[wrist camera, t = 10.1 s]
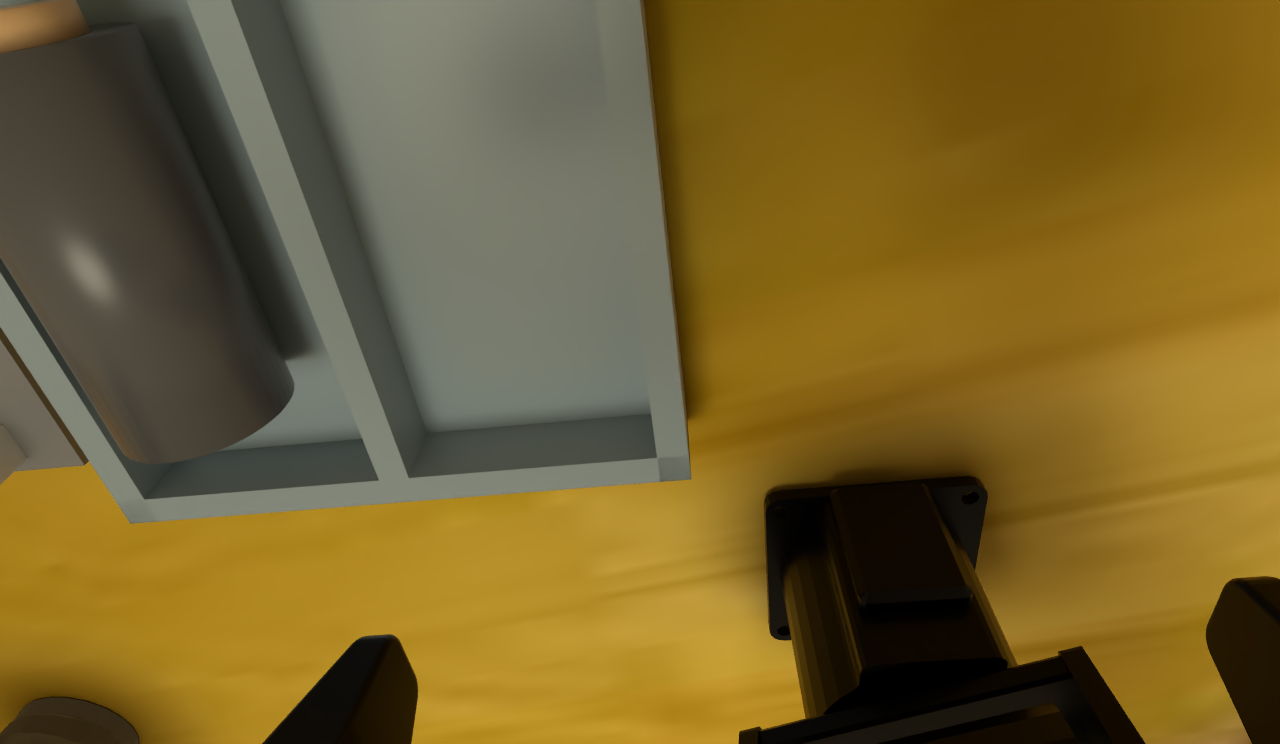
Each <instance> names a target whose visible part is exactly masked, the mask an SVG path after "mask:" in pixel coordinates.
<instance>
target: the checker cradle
mask: <svg viewBox="0 0 1280 744" xmlns="http://www.w3.org/2000/svg"><path fill="white" fill-rule="evenodd" d="M88 461H89V460H88V459H87V457H86V455H85V454H84V452H83V451H82V449H81V448H80V446H79V445H78V443H77V442H76V440H75V439H74V437H73V436H72V434H71V433H70V431H69V430H68V428H67V427H66V425H65V424H64V422H63V421H62V419H61V418H60V416H59V415H58V413H57V412H56V410H55V409H54V407H53V406H52V404H51V403H50V401H49V400H48V398H47V397H46V395H45V394H44V392H43V391H42V389H41V388H40V386H39V385H38V383H37V382H36V380H35V379H34V377H33V376H32V374H31V372H30V371H29V369H28V368H27V366H26V365H25V363H24V362H23V360H22V359H21V357H20V356H19V354H18V353H17V351H16V350H15V348H14V347H13V345H12V344H11V342H10V341H9V339H8V338H7V336H6V335H5V333H4V332H3V330H2V329H1V327H0V484H1V483H3V482H4V481H5V480H6V479H7V478H8V477H9V476H10V475H11V474H12V473H13V472H14V471H24V470H36V469H47V468H59V467H71V466H82V465H85V464H86V463H87V462H88Z"/></svg>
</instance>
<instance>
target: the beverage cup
mask: <svg viewBox="0 0 1280 744" xmlns="http://www.w3.org/2000/svg"><path fill="white" fill-rule="evenodd" d="M0 744H139V738H138V735H137V733H136V732H135V730H134V729H133V727H132V726H131V725H130V724H129V723H128V722H126V721H125V720H124V719H123V718H122V717H120V716H119V715H117V714H115V713H113V712H111V711H110V710H108V709H106V708H104V707H101V706H98V705H95V704H92V703H90V702H87V701H82V700H77V699H71V698H59V697H48V698H43V699H39V700H34V701H32V702H31V703H29V704H28V705H26V706H24V708H23V709H22V710H21V712H20V713H19V714H18V716H17V717H16V718H15V720H14V721H13V722H11V723H10V724H9V725H8V726H7V727H6V728H5V729H4V730H3V731H2V732H1V733H0Z"/></svg>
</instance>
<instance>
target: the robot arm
mask: <svg viewBox="0 0 1280 744" xmlns="http://www.w3.org/2000/svg"><path fill="white" fill-rule="evenodd" d="M967 492H971V493H970V494H968V495H964V494H965V493H967ZM987 498H988V495H987V491H986V489H985V487H984V485H983V483H982V482H981V481H980V479H978V478H976V477H971V476H964V477H951V478H938V479H925V480H912V481H899V482H886V483H873V484H860V485H847V486H834V487H821V488H808V489H795V490H782V491H776V492H773V493H771V494H770V495H768V496H767V497H766V499H765V501H764V523H765V548H766V574H767V599H768V623H769V629H770V633H771V636H773V637H774V638H775V639H778V640H792V644H793V650H794V656H795V661H796V667H797V672H798V678H799V684H800V689H801V695H802V700H803V706H804V711H805V717H806V719H803V720H799V721H794V722H790V723H786V724H782V725H778V726H774V727H770V728H766V729H761V728H760V727H755V728H751V729H747V730H743V731H740V732H739V744H1145V742H1144V741H1143V739H1142V738H1141V736H1140V735H1139V733H1138V731H1137V730H1136V728H1135V727H1134V725H1133V724H1132V722H1131V721H1130V719H1129V718H1128V716H1127V715H1126V713H1125V712H1124V710H1123V709H1122V707H1121V706H1120V704H1119V702H1118V701H1117V699H1116V698H1115V696H1114V695H1113V693H1112V692H1111V690H1110V689H1109V687H1108V686H1107V684H1106V683H1105V681H1104V680H1103V678H1102V677H1101V675H1100V673H1099V672H1098V670H1097V669H1096V667H1095V666H1094V664H1093V663H1092V661H1091V660H1090V658H1089V657H1088V655H1087V654H1086V652H1085V651H1084V649H1083V648H1082V646H1078V647H1074V648H1070V649H1066V650H1062V651H1058V655H1059V656H1055V657H1051V658H1047V659H1043V660H1039V661H1035V662H1031V663H1027V664H1023V665H1019V666H1018V664H1017V662H1016V660H1015V658H1014V656H1013V653H1012V651H1011V649H1010V647H1009V645H1008V642H1007V640H1006V638H1005V636H1004V634H1003V632H1002V629H1001V627H1000V625H999V623H998V621H997V618H996V616H995V614H994V612H993V610H992V608H991V605H990V603H989V601H988V599H987V597H986V594H985V592H984V590H983V588H982V586H981V584H980V581H979V579H978V577H977V575H976V573H975V566H976V561H977V555H978V549H979V543H980V538H981V532H982V526H983V521H984V515H985V509H986V504H987ZM779 506H787V507H785V508H783V509H776V508H777V507H779ZM1206 641H1207V645H1208V649H1209V652H1210V654H1211V656H1212V658H1213V661H1214V663H1215V665H1216V667H1217V669H1218V671H1219V673H1220V676H1221V678H1222V680H1223V682H1224V684H1225V686H1226V689H1227V691H1228V693H1229V695H1230V697H1231V699H1232V701H1233V704H1234V706H1235V708H1236V710H1237V712H1238V714H1239V716H1240V719H1241V721H1242V723H1243V725H1244V727H1245V729H1246V732H1247V734H1248V736H1249V738H1250V740H1251V742H1252V744H1280V579H1278V578H1275V577H1268V576H1262V577H1247V578H1235V579H1232V580H1230V581H1229V582H1227V583H1226V585H1225V586H1224V588H1223V590H1222V592H1221V595H1220V597H1219V599H1218V602H1217V604H1216V606H1215V608H1214V611H1213V613H1212V615H1211V618H1210V620H1209V622H1208V624H1207V628H1206ZM417 699H418V684H417V679H416V676H415V673H414V671H413V669H412V667H411V665H410V662H409V660H408V658H407V656H406V653H405V651H404V649H403V647H402V645H401V643H400V641H399V639H398V638H397V637H395V636H394V635H374V636H365V637H361V638H359V639H358V640H356V641H355V642H354V643H353V644H352V645H351V646H350V647H349V648H348V649H347V650H346V651H345V653H344V654H343V655H342V656H341V657H340V658H339V659H338V660H337V661H336V662H335V664H334V665H333V666H332V667H331V668H330V669H329V670H328V671H327V672H326V674H325V675H324V676H323V677H322V678H321V679H320V680H319V681H318V682H317V683H316V685H315V686H314V687H313V688H312V689H311V690H310V691H309V692H308V693H307V695H306V696H305V697H304V698H303V699H302V700H301V701H300V702H299V703H298V704H297V706H296V707H295V708H294V709H293V710H292V711H291V712H290V713H289V714H288V716H287V717H286V718H285V719H284V720H283V721H282V722H281V723H280V724H279V725H278V727H277V728H276V729H275V730H274V731H273V732H272V733H271V734H270V735H269V737H268V738H267V739H266V740H265V741H264V742H263V743H262V744H411V742H412V735H413V728H414V721H415V713H416V706H417Z"/></svg>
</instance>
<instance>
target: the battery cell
mask: <svg viewBox="0 0 1280 744" xmlns="http://www.w3.org/2000/svg"><path fill="white" fill-rule="evenodd" d="M0 258H1V259H2V261H3V263H4V264H5V266H6V267H7V269H8V271H9V272H10V274H11V275H12V277H13V279H14V280H15V282H16V283H17V285H18V287H19V288H20V290H21V291H22V293H23V295H24V296H25V298H26V299H27V301H28V303H29V304H30V306H31V307H32V309H33V311H34V312H35V314H36V315H37V317H38V319H39V320H40V322H41V323H42V325H43V326H44V328H45V330H46V331H47V333H48V334H49V336H50V338H51V339H52V341H53V342H54V344H55V346H56V347H57V349H58V350H59V352H60V354H61V355H62V357H63V358H64V360H65V362H66V363H67V365H68V366H69V368H70V370H71V371H72V373H73V374H74V376H75V378H76V379H77V381H78V382H79V384H80V386H81V387H82V389H83V390H84V392H85V394H86V395H87V397H88V398H89V400H90V402H91V403H92V405H93V406H94V408H95V410H96V411H97V413H98V414H99V416H100V418H101V419H102V421H103V422H104V424H105V426H106V427H107V429H108V430H109V432H110V433H111V435H112V437H113V438H114V440H115V441H116V443H117V445H118V446H119V448H120V449H121V451H122V453H123V454H124V455H125V456H126V457H128V458H130V459H132V460H134V461H138V462H141V463H149V464H163V463H173V462H180V461H185V460H190V459H194V458H198V457H201V456H204V455H208V454H210V453H213V452H216V451H219V450H221V449H224V448H226V447H228V446H231V445H233V444H235V443H237V442H239V441H241V440H243V439H245V438H247V437H248V436H250V435H252V434H254V433H255V432H257V431H258V430H260V429H261V428H263V427H264V426H265V425H267V424H268V423H269V422H271V421H272V420H273V419H274V418H275V417H276V416H277V415H279V414H280V413H281V411H282V410H283V409H284V408H285V407H286V406H287V404H288V403H289V401H290V400H291V398H292V396H293V392H294V385H295V384H294V380H293V378H292V375H291V373H290V371H289V369H288V366H287V364H286V362H285V360H284V357H283V355H282V353H281V350H280V348H279V346H278V344H277V341H276V339H275V337H274V335H273V332H272V330H271V328H270V325H269V323H268V321H267V319H266V316H265V314H264V312H263V310H262V307H261V305H260V303H259V300H258V298H257V296H256V294H255V291H254V289H253V287H252V285H251V282H250V280H249V278H248V275H247V273H246V271H245V269H244V266H243V264H242V262H241V259H240V257H239V255H238V253H237V250H236V248H235V246H234V244H233V241H232V239H231V237H230V234H229V232H228V230H227V228H226V225H225V223H224V221H223V219H222V216H221V214H220V212H219V209H218V207H217V205H216V203H215V200H214V198H213V196H212V194H211V191H210V189H209V187H208V184H207V182H206V180H205V178H204V175H203V173H202V171H201V168H200V166H199V164H198V162H197V159H196V157H195V155H194V153H193V150H192V148H191V146H190V143H189V141H188V139H187V137H186V134H185V132H184V130H183V128H182V125H181V123H180V121H179V118H178V116H177V114H176V112H175V109H174V107H173V105H172V103H171V100H170V98H169V96H168V93H167V91H166V89H165V87H164V84H163V82H162V80H161V77H160V75H159V73H158V71H157V68H156V66H155V64H154V62H153V59H152V57H151V55H150V52H149V50H148V48H147V46H146V43H145V41H144V39H143V37H142V34H141V32H140V30H139V27H138V25H137V23H133V22H122V23H109V24H100V25H91V26H88V25H87V23H86V21H85V19H84V16H83V14H82V12H81V10H80V8H79V6H78V4H77V2H76V0H39V1H32V2H25V3H19V4H12V5H6V6H0Z"/></svg>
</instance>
